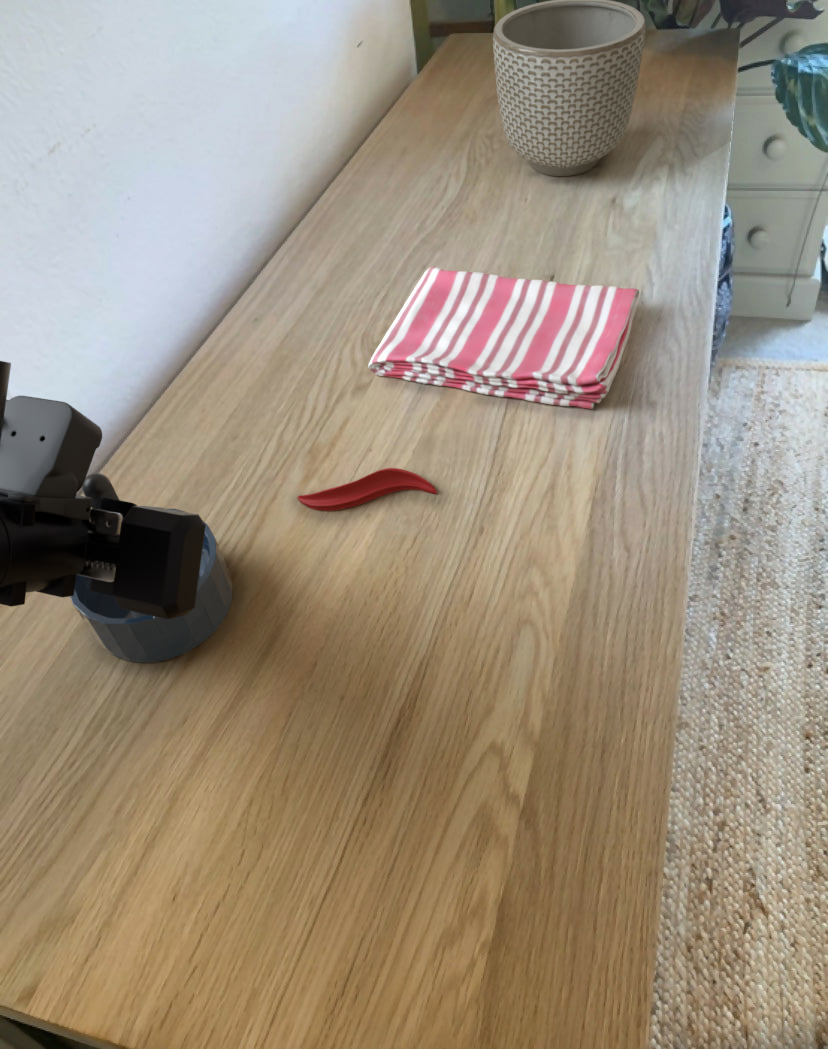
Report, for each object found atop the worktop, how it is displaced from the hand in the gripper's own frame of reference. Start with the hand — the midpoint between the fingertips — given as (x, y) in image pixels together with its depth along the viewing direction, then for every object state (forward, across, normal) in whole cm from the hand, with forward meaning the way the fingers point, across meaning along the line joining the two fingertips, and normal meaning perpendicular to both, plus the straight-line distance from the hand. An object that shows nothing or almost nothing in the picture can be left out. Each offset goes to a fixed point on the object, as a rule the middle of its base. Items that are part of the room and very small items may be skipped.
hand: (138, 534), depth 61 cm
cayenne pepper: (+16, -11, -5) cm, 20 cm away
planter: (+59, -16, -48) cm, 78 cm away
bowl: (+6, +1, +6) cm, 8 cm away
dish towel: (+32, -18, -21) cm, 42 cm away
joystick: (+4, 0, +6) cm, 7 cm away
